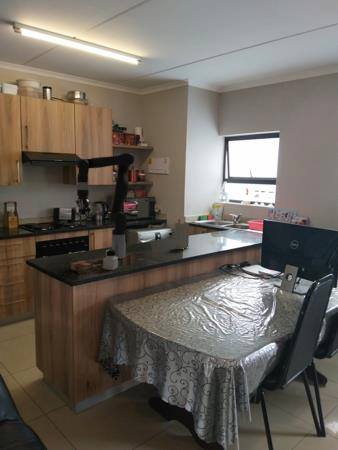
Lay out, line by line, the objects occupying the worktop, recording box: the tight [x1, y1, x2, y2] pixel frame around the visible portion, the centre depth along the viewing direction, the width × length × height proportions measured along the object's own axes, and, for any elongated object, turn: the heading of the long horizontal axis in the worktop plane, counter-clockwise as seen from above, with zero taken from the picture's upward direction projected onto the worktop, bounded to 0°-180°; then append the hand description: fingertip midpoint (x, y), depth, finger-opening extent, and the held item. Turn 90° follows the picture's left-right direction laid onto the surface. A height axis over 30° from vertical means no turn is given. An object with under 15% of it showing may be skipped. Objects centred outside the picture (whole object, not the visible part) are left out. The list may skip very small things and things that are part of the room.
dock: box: [75, 262, 103, 275], centre depth 223 cm, size 17×8×3 cm, turn 143°
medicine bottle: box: [102, 249, 119, 271], centre depth 228 cm, size 7×7×12 cm
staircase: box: [172, 218, 190, 250], centre depth 292 cm, size 8×12×26 cm
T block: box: [70, 259, 91, 271], centre depth 225 cm, size 10×11×4 cm
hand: (83, 214), depth 243 cm, fingers closed
